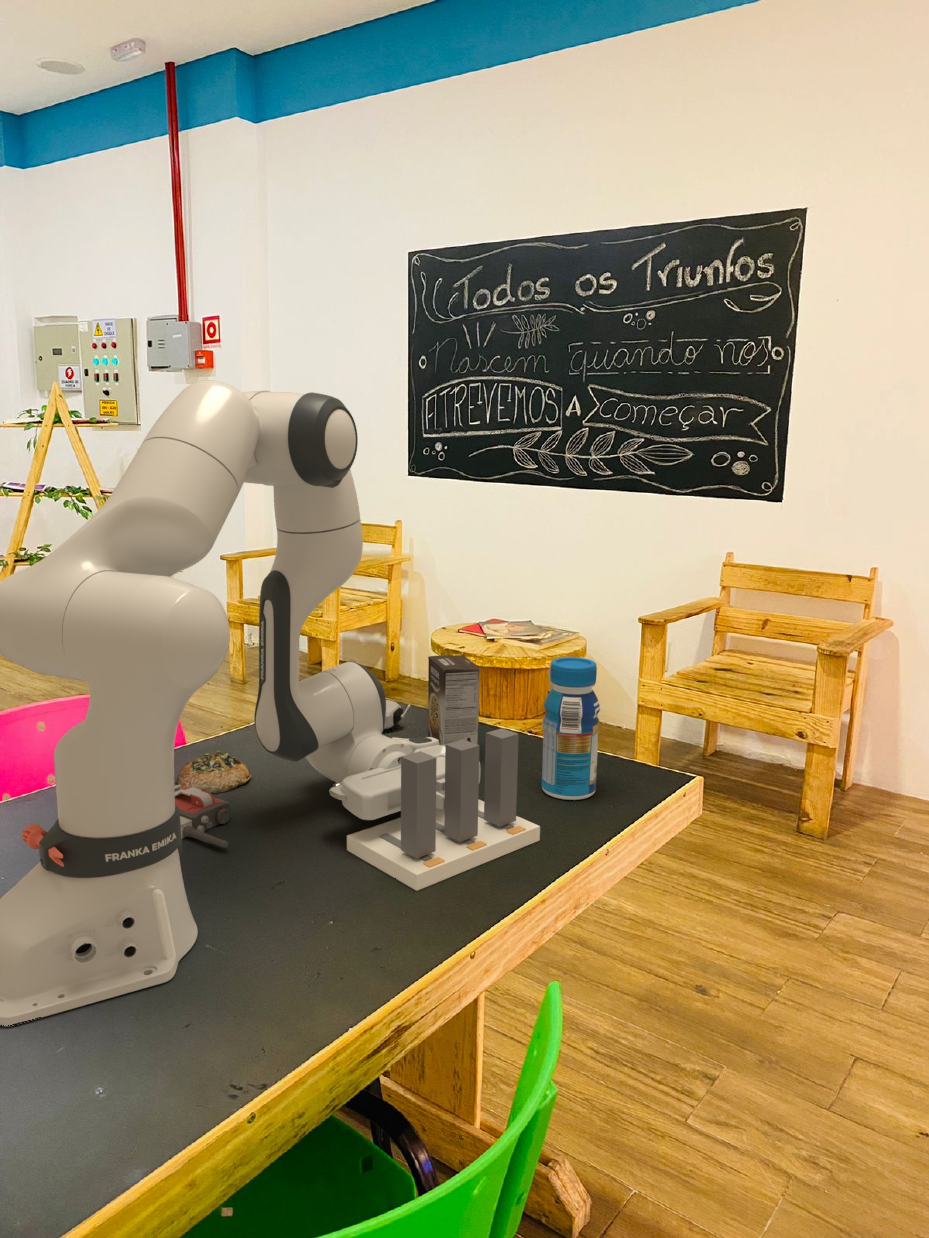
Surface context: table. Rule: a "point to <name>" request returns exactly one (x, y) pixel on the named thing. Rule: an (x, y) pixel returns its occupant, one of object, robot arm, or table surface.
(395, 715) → the robot toy
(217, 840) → the walkie-talkie
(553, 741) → the beverage bottle
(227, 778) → the bread roll
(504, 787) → the right switch
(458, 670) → the coffee box
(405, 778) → the tall grey switch
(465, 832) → the grey rectangular pillar
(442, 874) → the switch bank
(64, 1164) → the table surface
